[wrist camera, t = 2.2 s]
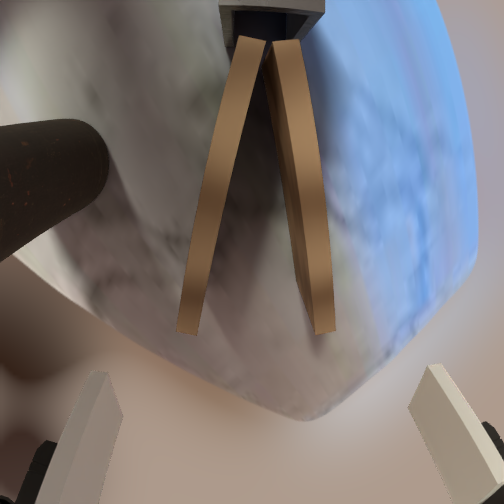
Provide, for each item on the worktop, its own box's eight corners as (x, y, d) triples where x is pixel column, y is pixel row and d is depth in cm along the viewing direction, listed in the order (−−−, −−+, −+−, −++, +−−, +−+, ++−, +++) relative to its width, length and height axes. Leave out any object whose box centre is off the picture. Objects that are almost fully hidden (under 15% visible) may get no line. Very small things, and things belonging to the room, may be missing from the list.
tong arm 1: (238, 62, 21) (239, 35, 14) (256, 66, 21) (265, 41, 14) (190, 276, 28) (175, 331, 20) (206, 279, 28) (196, 335, 20)
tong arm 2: (261, 66, 21) (272, 41, 14) (279, 64, 21) (299, 38, 14) (296, 280, 28) (315, 335, 21) (311, 277, 28) (335, 330, 21)
